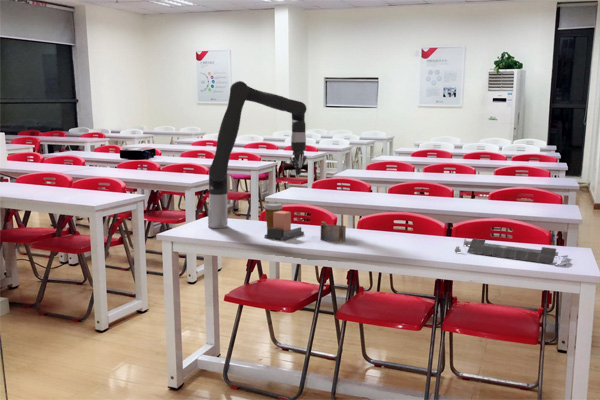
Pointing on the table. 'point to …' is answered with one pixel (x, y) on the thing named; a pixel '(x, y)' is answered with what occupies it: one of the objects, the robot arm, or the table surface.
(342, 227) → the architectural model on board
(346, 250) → the table surface
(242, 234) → the table surface
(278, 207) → the disposable coffee cup
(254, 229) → the table surface
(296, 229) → the rail base
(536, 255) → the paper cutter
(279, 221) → the salmon pink block
